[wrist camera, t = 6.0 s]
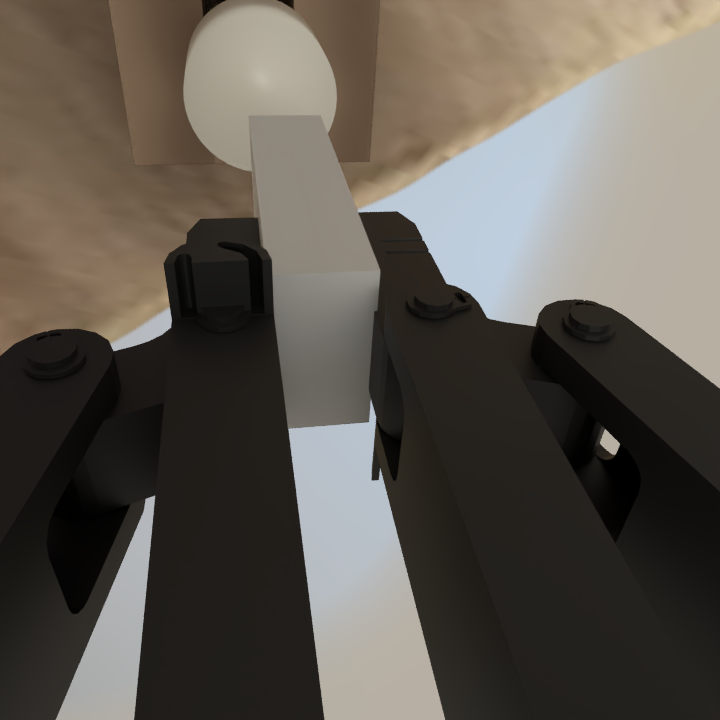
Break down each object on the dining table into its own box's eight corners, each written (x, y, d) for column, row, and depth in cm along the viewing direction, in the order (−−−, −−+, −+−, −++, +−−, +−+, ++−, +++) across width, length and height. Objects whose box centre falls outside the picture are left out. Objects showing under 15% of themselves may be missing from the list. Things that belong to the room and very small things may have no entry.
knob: (196, 91, 27) (191, 173, 20) (185, -35, 24) (174, 13, 17) (305, 91, 27) (334, 171, 21) (305, -30, 25) (339, 16, 18)
